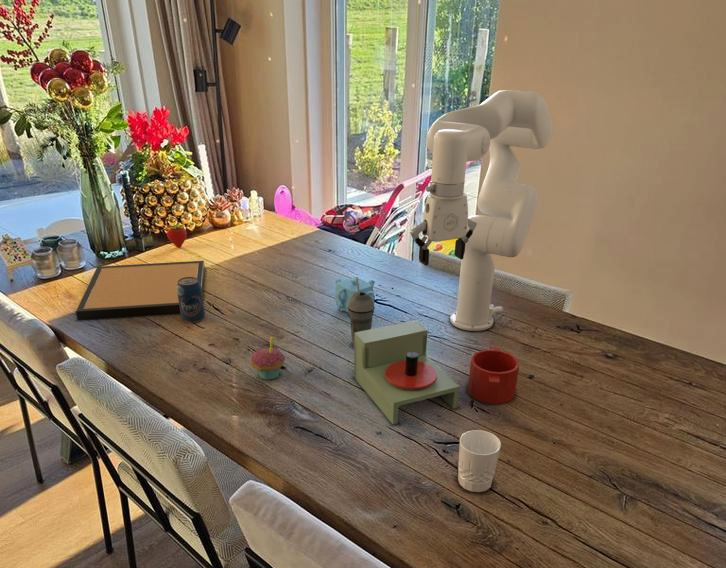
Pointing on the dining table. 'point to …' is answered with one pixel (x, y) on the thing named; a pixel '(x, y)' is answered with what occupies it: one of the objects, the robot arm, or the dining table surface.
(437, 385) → the green step stand
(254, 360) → the cupcake
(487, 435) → the white cup
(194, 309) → the soda can
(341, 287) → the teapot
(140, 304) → the cork board
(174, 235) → the strawberry
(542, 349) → the dining table surface
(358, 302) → the beverage cup
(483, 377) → the pot
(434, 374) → the lid
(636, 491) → the dining table surface
